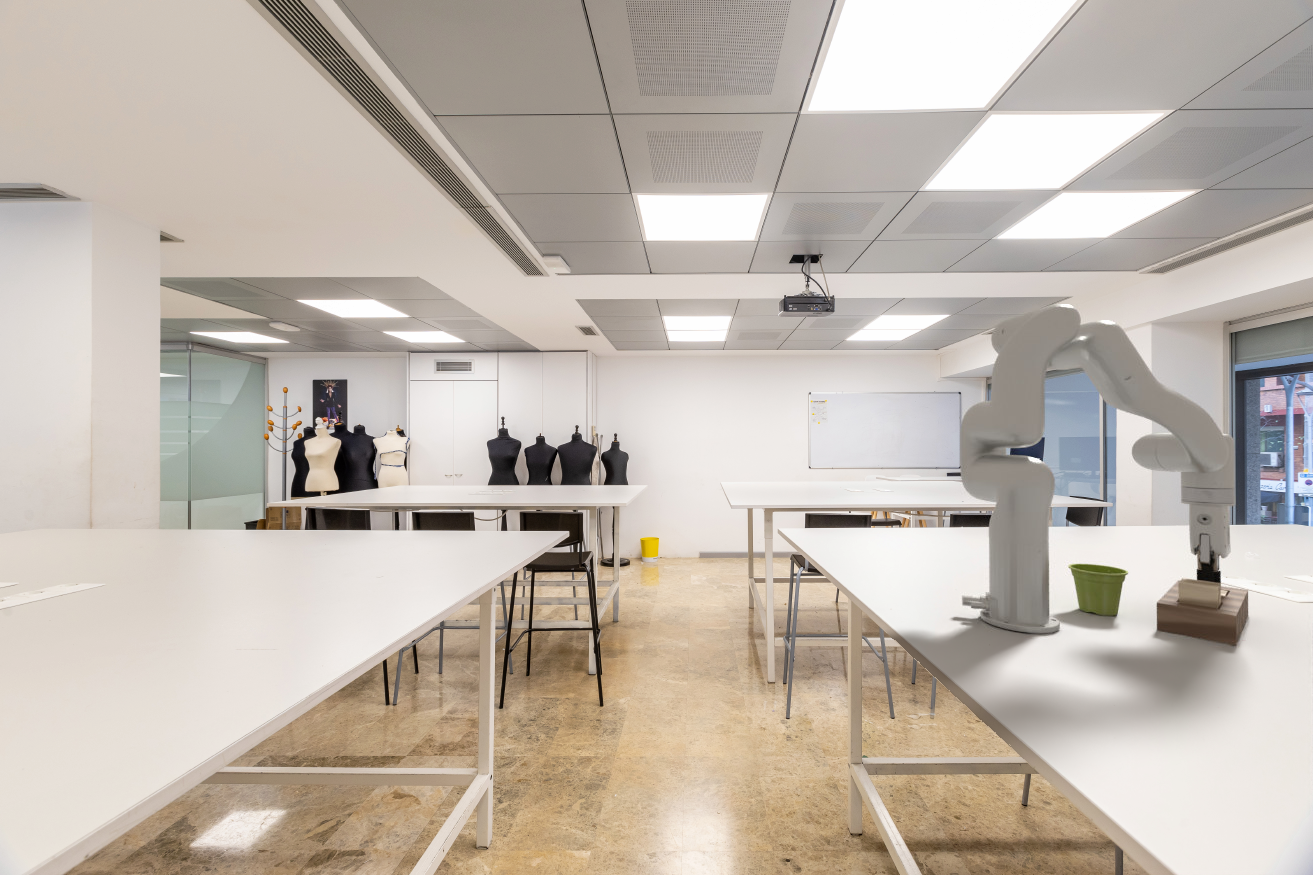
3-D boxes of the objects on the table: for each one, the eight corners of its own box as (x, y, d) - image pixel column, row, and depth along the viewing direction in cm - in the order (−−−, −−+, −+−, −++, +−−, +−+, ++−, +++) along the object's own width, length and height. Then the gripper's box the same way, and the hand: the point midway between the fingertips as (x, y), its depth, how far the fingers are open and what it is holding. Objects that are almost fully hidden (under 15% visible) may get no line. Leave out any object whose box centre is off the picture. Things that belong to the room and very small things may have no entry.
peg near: (1217, 615, 97) (1217, 588, 97) (1178, 608, 101) (1178, 582, 101) (1220, 609, 101) (1220, 583, 101) (1183, 603, 104) (1182, 577, 104)
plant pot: (1058, 603, 117) (1058, 562, 117) (1108, 605, 116) (1107, 563, 116) (1086, 617, 108) (1086, 573, 108) (1140, 619, 107) (1140, 574, 107)
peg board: (1236, 645, 93) (1236, 615, 93) (1156, 630, 101) (1156, 602, 101) (1248, 615, 109) (1248, 589, 109) (1178, 604, 116) (1178, 580, 116)
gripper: (1231, 501, 101) (1232, 602, 101) (1238, 495, 111) (1240, 587, 111) (1175, 498, 107) (1176, 593, 107) (1187, 492, 116) (1188, 580, 116)
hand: (1208, 590), depth 109 cm, fingers closed
